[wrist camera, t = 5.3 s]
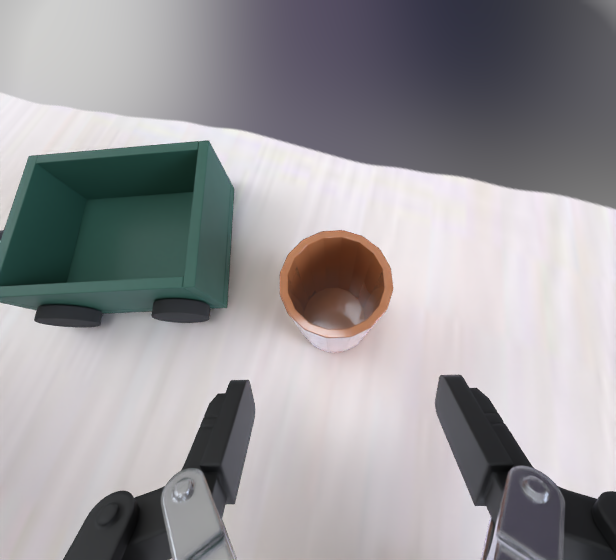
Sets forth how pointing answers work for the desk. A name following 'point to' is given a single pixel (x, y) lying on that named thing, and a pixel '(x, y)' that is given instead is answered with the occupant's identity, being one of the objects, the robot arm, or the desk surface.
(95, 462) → the desk surface
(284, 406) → the desk surface
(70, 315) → the cart wheels
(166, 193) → the cart
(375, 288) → the orange cup
